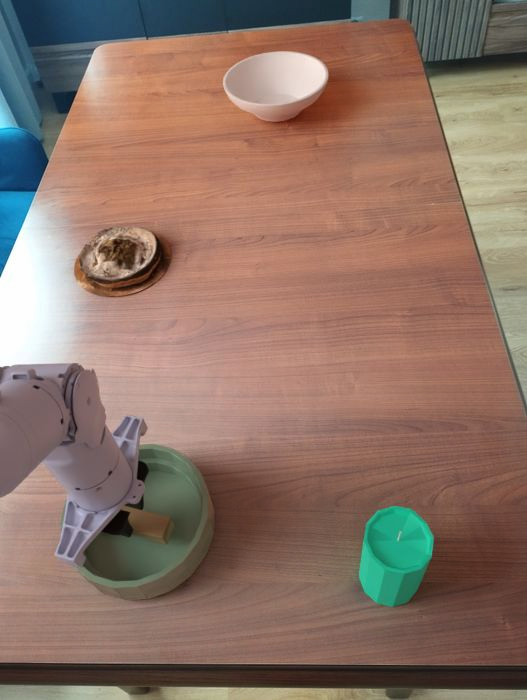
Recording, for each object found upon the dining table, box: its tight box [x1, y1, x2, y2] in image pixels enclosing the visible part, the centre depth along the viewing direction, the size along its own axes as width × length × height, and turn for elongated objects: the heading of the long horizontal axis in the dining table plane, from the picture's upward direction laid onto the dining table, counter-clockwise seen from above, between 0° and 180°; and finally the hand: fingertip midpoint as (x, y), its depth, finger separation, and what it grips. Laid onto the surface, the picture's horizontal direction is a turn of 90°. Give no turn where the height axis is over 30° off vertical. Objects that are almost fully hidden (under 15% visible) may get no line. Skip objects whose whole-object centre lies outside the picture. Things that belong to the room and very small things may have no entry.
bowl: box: [222, 50, 330, 123], centre depth 110 cm, size 20×20×7 cm
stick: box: [121, 506, 175, 545], centre depth 61 cm, size 2×9×2 cm, turn 73°
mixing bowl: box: [59, 443, 216, 601], centre depth 62 cm, size 15×15×5 cm
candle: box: [358, 505, 435, 608], centre depth 54 cm, size 6×6×12 cm
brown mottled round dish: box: [73, 226, 172, 298], centre depth 89 cm, size 15×15×4 cm
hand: (128, 519), depth 61 cm, fingers closed on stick, 2 cm apart
